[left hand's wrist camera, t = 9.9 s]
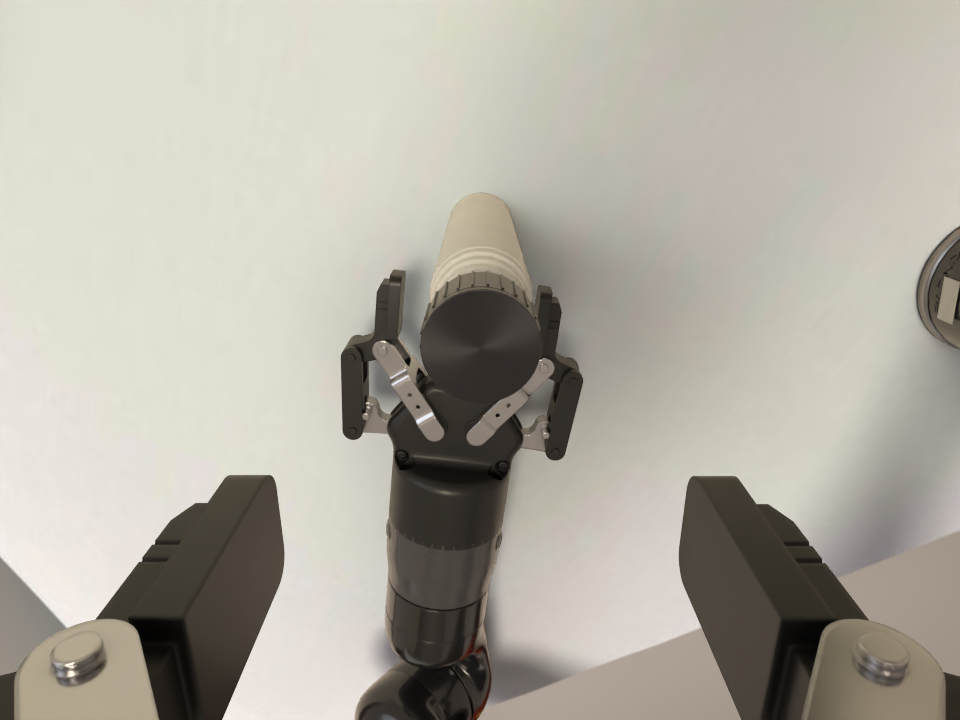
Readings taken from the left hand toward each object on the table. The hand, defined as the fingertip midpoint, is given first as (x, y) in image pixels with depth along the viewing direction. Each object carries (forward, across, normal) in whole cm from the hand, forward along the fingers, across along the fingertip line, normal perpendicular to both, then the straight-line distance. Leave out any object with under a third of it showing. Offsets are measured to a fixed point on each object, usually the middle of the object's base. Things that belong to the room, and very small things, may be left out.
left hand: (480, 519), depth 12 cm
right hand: (+27, 0, +2) cm, 27 cm away
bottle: (+33, 0, 0) cm, 33 cm away
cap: (+9, 0, 0) cm, 9 cm away
